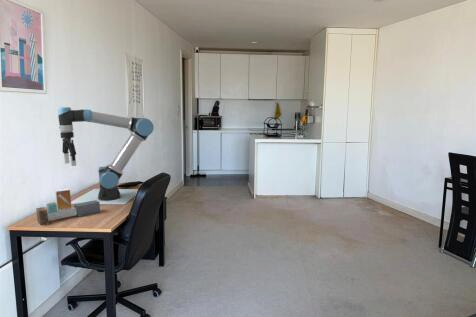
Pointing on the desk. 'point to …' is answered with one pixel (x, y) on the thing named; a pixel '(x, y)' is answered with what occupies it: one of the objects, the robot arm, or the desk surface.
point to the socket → (42, 215)
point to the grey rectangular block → (87, 208)
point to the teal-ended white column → (59, 211)
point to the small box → (63, 198)
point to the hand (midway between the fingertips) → (70, 164)
